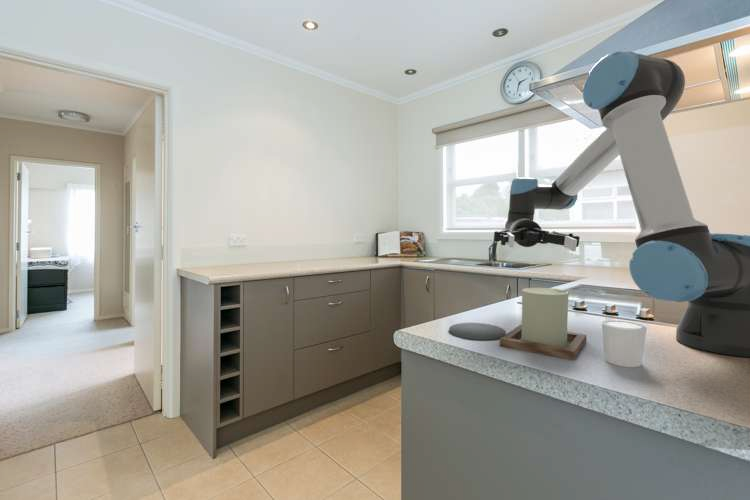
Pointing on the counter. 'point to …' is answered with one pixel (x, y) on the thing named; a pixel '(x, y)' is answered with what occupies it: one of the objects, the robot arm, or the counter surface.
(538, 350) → the pocket
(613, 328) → the shot glass
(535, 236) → the robot arm
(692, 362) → the counter surface
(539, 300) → the can
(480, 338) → the mat
